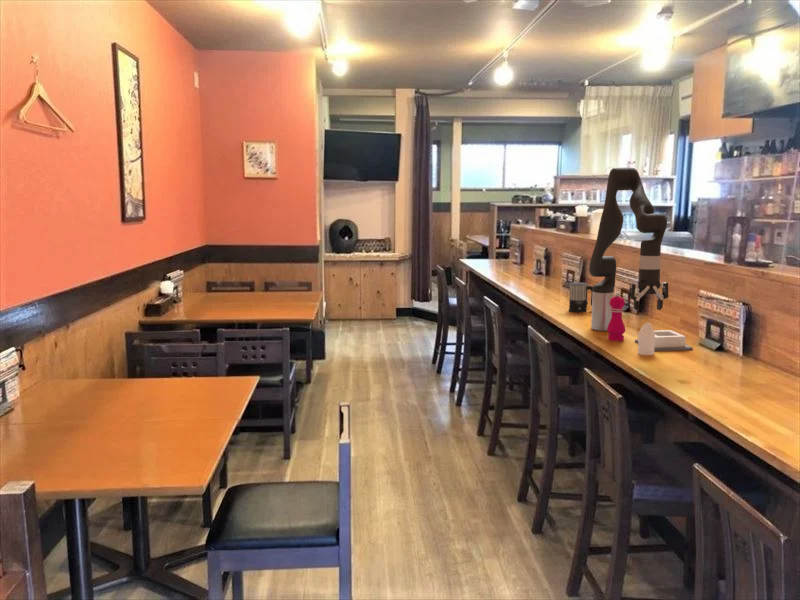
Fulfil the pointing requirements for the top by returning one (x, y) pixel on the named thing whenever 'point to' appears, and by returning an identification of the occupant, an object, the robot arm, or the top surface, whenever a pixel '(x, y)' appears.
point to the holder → (669, 341)
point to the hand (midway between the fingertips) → (647, 310)
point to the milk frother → (579, 297)
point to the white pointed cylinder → (646, 340)
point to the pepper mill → (616, 319)
